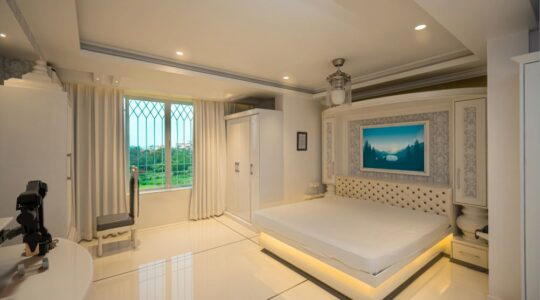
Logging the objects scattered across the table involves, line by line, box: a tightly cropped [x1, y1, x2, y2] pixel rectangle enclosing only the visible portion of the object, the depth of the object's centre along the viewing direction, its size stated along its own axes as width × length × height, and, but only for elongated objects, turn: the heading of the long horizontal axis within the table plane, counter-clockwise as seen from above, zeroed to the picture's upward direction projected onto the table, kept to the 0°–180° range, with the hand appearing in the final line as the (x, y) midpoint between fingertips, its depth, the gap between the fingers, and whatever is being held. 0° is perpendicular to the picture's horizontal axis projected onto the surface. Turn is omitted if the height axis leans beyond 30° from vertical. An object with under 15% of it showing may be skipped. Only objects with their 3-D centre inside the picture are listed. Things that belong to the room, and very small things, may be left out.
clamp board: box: [18, 262, 50, 280], centre depth 118 cm, size 12×10×1 cm
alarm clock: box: [23, 238, 60, 253], centre depth 144 cm, size 11×5×15 cm
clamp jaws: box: [17, 256, 50, 278], centre depth 118 cm, size 6×10×4 cm, turn 137°
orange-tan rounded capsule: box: [24, 243, 39, 257], centre depth 117 cm, size 4×4×6 cm
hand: (32, 251), depth 117 cm, fingers closed on orange-tan rounded capsule, 4 cm apart
